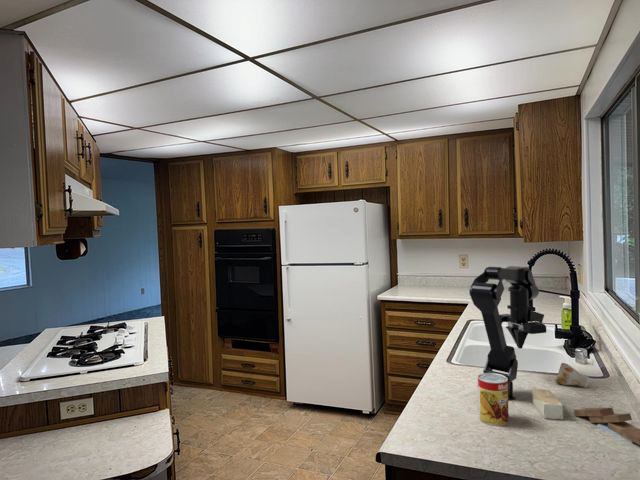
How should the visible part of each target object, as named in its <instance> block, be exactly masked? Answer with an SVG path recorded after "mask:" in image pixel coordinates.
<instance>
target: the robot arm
mask: <svg viewBox="0 0 640 480" xmlns="http://www.w3.org/2000/svg"><path fill="white" fill-rule="evenodd" d="M489 280H496V281H498V283H490V282H489ZM503 280H505V282H508V283H509V284H510V286H509V287H508V289H507V291H508V292H509V304H508V305H507V306H506V307H507V309H509V312H510V313H504V314H503V313H502V314H500V312H499V304H500V302H501V300H502V295H503V293H504V291H505V286H504V283H503ZM488 282H489V283H488ZM539 293H540V291H539V288H538V286H537V285H536V281H535V278H534V274H533V273H532V270H531V268H530V267H528V266H513V265H509V266H506V267H505V268H504V267H500V266H488V267H485V269H484V271H483V272H482V273H481V274H479V275H478V276H476V278H474V280H473V281H472V284H471V286H470V287H469V296H470V299H471V301H472V303H473V305H474V306H475V307H476V308H477V310H479V311H480V313H481V316H482V320H483V324H484V329H485V331H486V332H485V333H486V336H487V339H488V344H489V346H490V347H489V348H490V350H489V352H488V354H487V359H486V362H485V365H484V367H483V373H496V374H501V375H503V376H505V377H507V379H508V401H509V400H515V399H516V396H515V395H514V381H515V380H516V379H517V376H518V374H517V373H518V368H519V367H518V366H519V363H518V360H517V355H516V351H515V348H514V346H511V345H507V340H506V337H505V332H504V328H503V323H507V326H505V329H507V331H508V332H509V334H510V335H511V337H512V339H513V341H514V343H515V345H516V347H517V349H523V347H524V344H525V342H526V339H527V336H528V335H529V334H530V335H536V334H546V333H547V325H546V324H544V323H543V320H544V317H545V314H543V313H540V312H537V311H534V310H533V307H532V306H531V305H529V301H531V300H534V299H536V298H537V297H538V296H539Z"/></svg>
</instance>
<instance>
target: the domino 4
mask: <svg viewBox="0 0 640 480" xmlns="http://www.w3.org/2000/svg"><path fill="white" fill-rule="evenodd" d="M608 429H610V430H612V431H614V432H616V433H618V434H620V435H621V436H623V437H625V438H627V439H629V440H631V441H633V443H635V444H636V445H639V446H640V428H639V427H637V426H635V425H632V424H630V422H629V423H628V421H623V422H608Z"/></svg>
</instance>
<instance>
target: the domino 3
mask: <svg viewBox="0 0 640 480" xmlns="http://www.w3.org/2000/svg"><path fill="white" fill-rule="evenodd" d="M597 428H598V429H600V430H602V431H604V432H607V433H609V434H612V435H614V436H616V437H619V438H620V439H623V440H625V441H627V442H630V443H634V442H633V441H631V440H629V439H627V438H625V437H623V436H621V435H620V434H618V433H616V432H614V431H612V430H610V429H608V422H600V423H597Z"/></svg>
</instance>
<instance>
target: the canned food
mask: <svg viewBox="0 0 640 480" xmlns="http://www.w3.org/2000/svg"><path fill="white" fill-rule="evenodd" d="M477 394H478V395H477V398H478V399H477V400H478V405H477V406H478V419H479V421H480V422H481V423H484V424H486V425H489V426H495V427H499V426H506V425H507V424H508V423H509V421H510V420H509V417H510V416H509V415H510V414H509V400H508V379H507V377H505V376H503V375H501V374H496V373H480V374H478V375H477Z"/></svg>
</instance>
